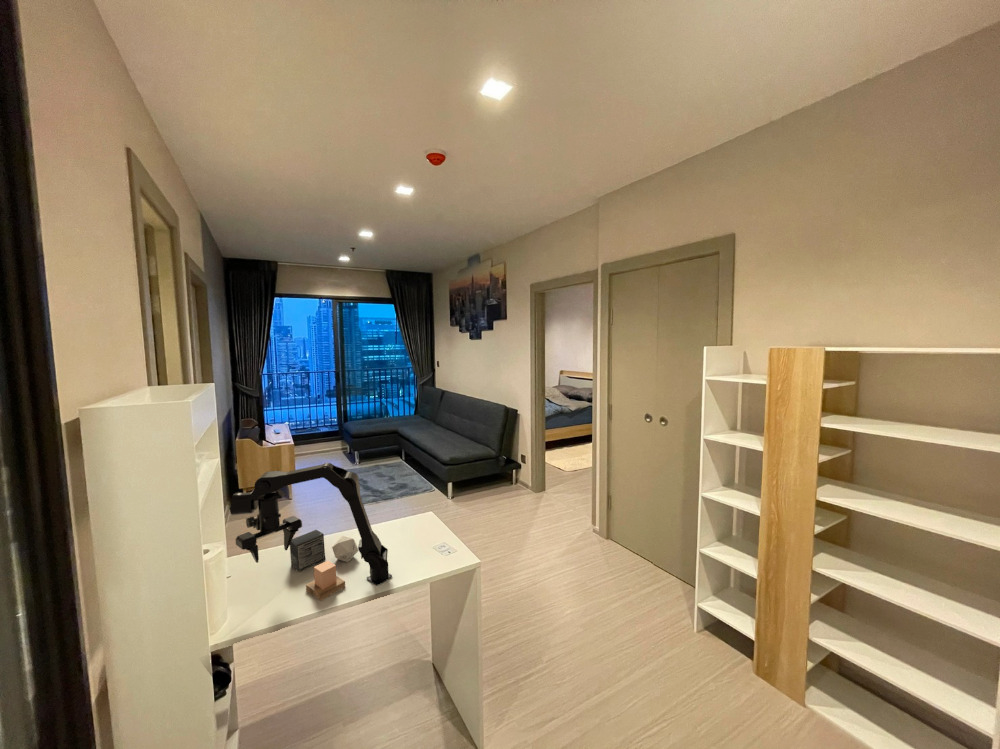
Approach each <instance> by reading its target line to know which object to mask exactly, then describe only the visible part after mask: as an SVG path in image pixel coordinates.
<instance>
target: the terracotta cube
mask: <svg viewBox="0 0 1000 749" xmlns="http://www.w3.org/2000/svg"><path fill="white" fill-rule="evenodd" d="M313 574H314V578H313V579H314V580H315V584H316V585H317V586H319V587H320V588H321V589H324V588H326V587H328V586H330V585H332V584H334V583H336V582H337V580H336V576H337V566H336V564H334V563H333V562H332V561H329V560H326V561H324V562H322V563H320V564H318V565H315V566H314V567H313Z"/></svg>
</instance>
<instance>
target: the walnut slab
mask: <svg viewBox="0 0 1000 749" xmlns="http://www.w3.org/2000/svg"><path fill="white" fill-rule="evenodd" d="M336 580H337V582H336V583H334V584H332V585H330V586H328V587H326V588H324V589H321V588H320V587H319V586H317V585H316V584H315V579H314V580H312V581H311V582H307V583H306V584H305V590H306V592H308V593H309V594H311V595H312V596H314V597H315V598H316V599H317V600H319V601H322V600H323V601H324V599H326V598H328V597H330V596H332V595H334V594H335V593H337V592H339V591H341V590H342V589H344V588H345V587H346V581H345V580H344V579H342V578H341V577H339V576H338V575H336Z"/></svg>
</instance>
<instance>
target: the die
mask: <svg viewBox="0 0 1000 749" xmlns="http://www.w3.org/2000/svg"><path fill="white" fill-rule="evenodd" d="M331 548H332V552H333V554H334V558H335V559H336V560H340V561H343V562H345V563H349V562H350V560H352V559H353V557H354V556H355V555H356V554H357V553H358V552H359V550H358V545H357V543H356V541H355V539H354V538H351V537H348V536H345V535H342V536H341V537H340V538H339V539H338V540H337V541H336V543H334V545H333V546H331Z"/></svg>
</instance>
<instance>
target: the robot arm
mask: <svg viewBox="0 0 1000 749" xmlns="http://www.w3.org/2000/svg"><path fill="white" fill-rule="evenodd" d="M318 479H325V480H327V482H329V484H331V486H333V487H335V488H337V489H338V490H339V492H340V494H341V495H342V497H343V499H344V500H345V501H346V502H347V504H348V505H349V509H350V511H351V514H352V517H353V519H354V522H355V526H356V529H357V530H358V531H357V532H358V534H359V536H360V539H359V541H358V545H357V548H358V552H359V553H360V557H361V559H363V561H364V562H365V563H367V564H368V566H369V576H367V577H366V580H367V581H368V582H371V583H372V584H374V585H376V586H380V585H381V584H383V583H385V582H386V581H388V580H390V579H391V578H392V577H393V574H391V573H389V561H388V553H389V552H388V551H389V550H388V548H387V547H385V545H383V544H382V542H381V540H380V538H379V536H378V535H377V534H376V533H375V532H374V531H373V528H372V525H371V523H370V520H369V516H368V514H367V512H366V508H365V505H364V502H363V500H362V497H361V490H360V489H361V487H360V486H361V485H360V479H359V475H358V474H357V473H356V472H353V471H348V470H346V469H345V468H342V467H339V466H337V465H334V464H333V463H331V462H324V463H323V464H317V465H312V466H309V467H304V468H300V469H295V470H288V471H283V470H282V471H281V470H275V471H274V470H273V471H266V472H264V473H262V474H261V476H259V477H258V478H257V479H256V481H255V483H254V488H253V490H252V491H251V492H250V491H249V492H235V493H233V495H232V500H231V502H230V507H229V512H230V515H231V516H236V515H237V516H238V515H247V514H253V513H254V512H255V511H257V509H258V514H257V516H256V517H255V516H250V517H246V518H245V524H246V527H247V528H248V529H249V528H253V529H256V530H257V531H258V532H255V533H252V532H251V531H247V532H245V533H242V534H239V535H237V536H236V537H235V539H234V541H235V545H236V547H238V548H240V549H241V550H244V551H245V550H246V551H249V553H250V554H251V556H252V557H253V560H254V562H255V563H257V564H258V563H259V560H260V559H259V545H257V541H258V540H259V539H262V538H264V537H266V536H270V535H273V534H275V533H278V532H281V531H282V532H283V547H284V548H283V550H285V551H288V550H289V548H290V543H291V540H292V539H294V538H295V537H294V536H295V535H296V533H297V532H299V529H301V528H302V527H303V521H302V519H300V517H299V518H298V517H297V516H295V515H291V516H289V517H286V518H283V520H282V523H280V518H281V516H282V514H281V513H280V510H279V500H280V499H283V497H284V496H285V492H284V491H283V490H281V489H283V488H285V487H287V486H291V485H295V484H300V483H305V482H309V481H313V480H318Z"/></svg>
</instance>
